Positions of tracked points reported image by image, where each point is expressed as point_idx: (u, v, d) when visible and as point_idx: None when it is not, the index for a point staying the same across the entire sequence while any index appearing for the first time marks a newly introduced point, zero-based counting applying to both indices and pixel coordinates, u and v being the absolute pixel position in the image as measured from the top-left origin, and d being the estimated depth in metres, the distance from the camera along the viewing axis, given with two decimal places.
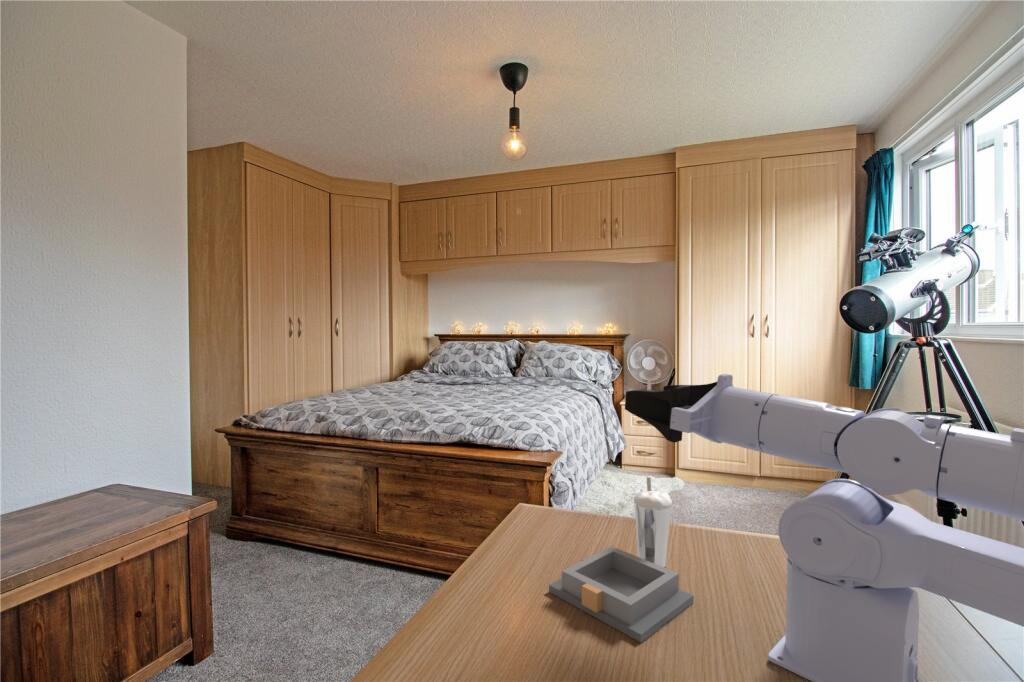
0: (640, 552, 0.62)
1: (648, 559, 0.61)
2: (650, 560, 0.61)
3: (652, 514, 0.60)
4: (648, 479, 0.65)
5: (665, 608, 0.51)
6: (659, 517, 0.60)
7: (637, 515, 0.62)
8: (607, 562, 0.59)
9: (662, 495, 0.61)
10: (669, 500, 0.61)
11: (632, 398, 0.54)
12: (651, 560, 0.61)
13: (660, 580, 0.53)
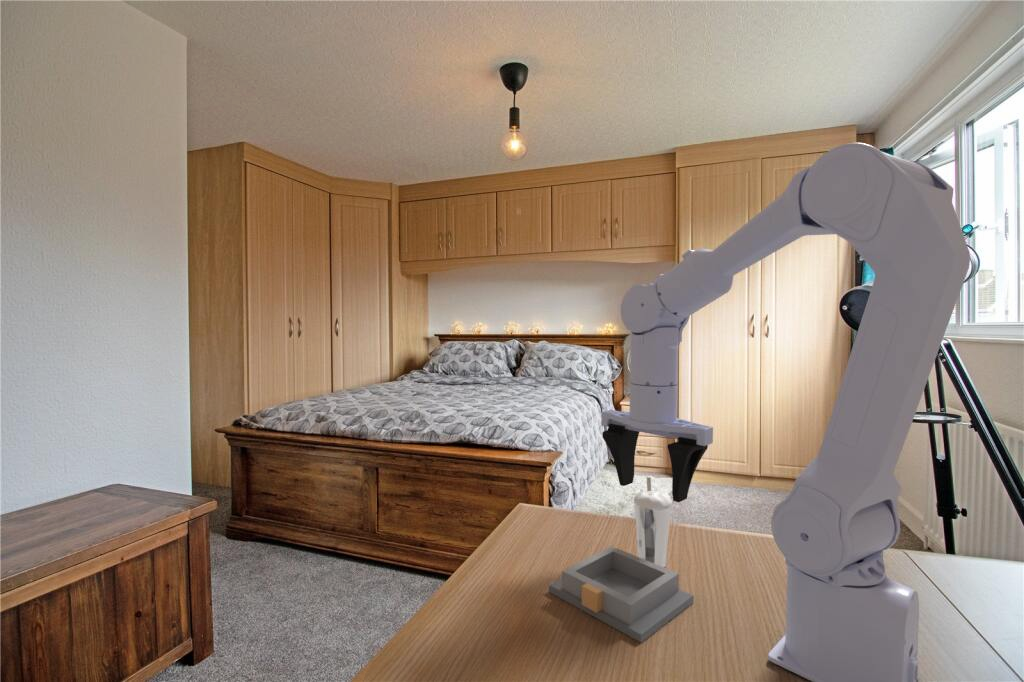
0: (640, 552, 0.62)
1: (648, 559, 0.61)
2: (650, 560, 0.61)
3: (652, 514, 0.60)
4: (648, 479, 0.65)
5: (665, 608, 0.51)
6: (659, 517, 0.60)
7: (637, 515, 0.62)
8: (607, 562, 0.59)
9: (662, 495, 0.61)
10: (669, 500, 0.61)
11: None
12: (651, 560, 0.61)
13: (660, 580, 0.53)
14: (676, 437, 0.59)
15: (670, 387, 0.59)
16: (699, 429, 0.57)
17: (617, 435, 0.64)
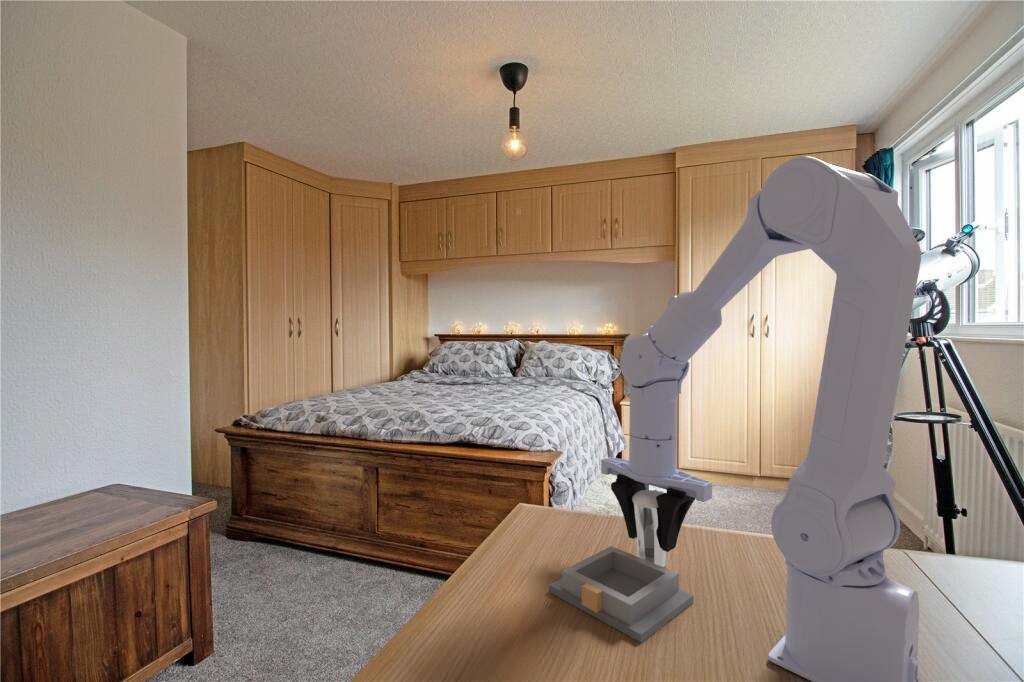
0: (640, 552, 0.62)
1: (648, 558, 0.61)
2: (650, 559, 0.61)
3: (650, 513, 0.60)
4: None
5: (665, 608, 0.51)
6: (657, 515, 0.60)
7: (636, 514, 0.62)
8: (607, 562, 0.59)
9: (660, 494, 0.61)
10: None
11: None
12: (650, 559, 0.61)
13: (660, 580, 0.53)
14: None
15: (669, 441, 0.60)
16: (698, 485, 0.57)
17: (626, 488, 0.63)
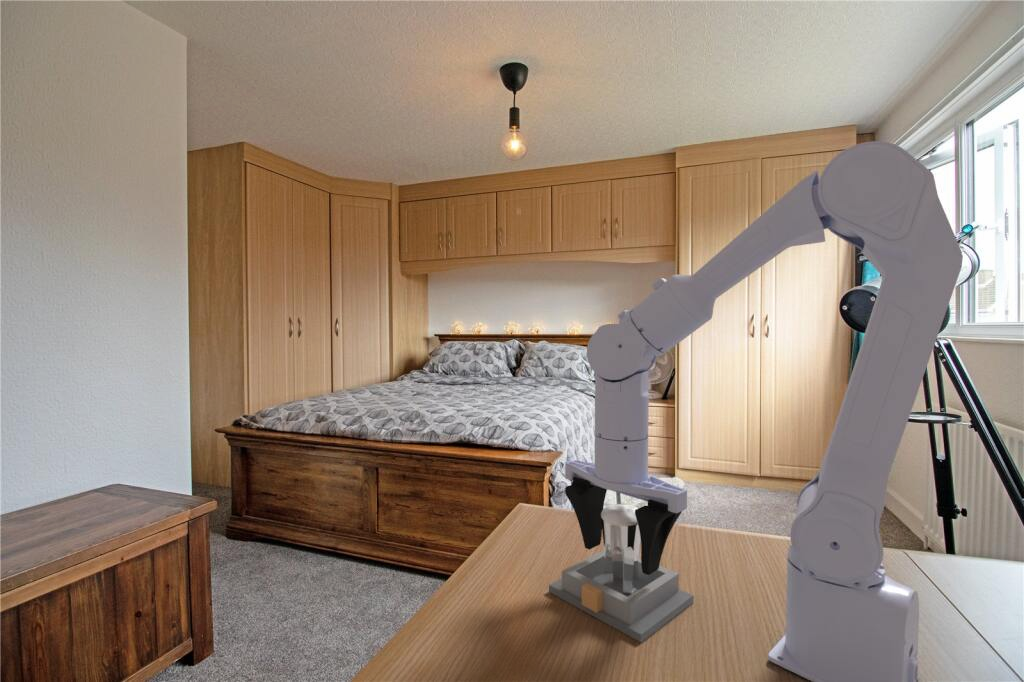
0: (607, 574, 0.55)
1: (616, 582, 0.54)
2: (618, 583, 0.54)
3: (620, 531, 0.53)
4: None
5: (665, 608, 0.51)
6: (628, 535, 0.53)
7: (604, 532, 0.55)
8: None
9: (632, 510, 0.54)
10: None
11: None
12: (619, 583, 0.54)
13: (660, 580, 0.53)
14: (646, 499, 0.52)
15: (639, 442, 0.52)
16: (671, 493, 0.49)
17: (581, 492, 0.56)
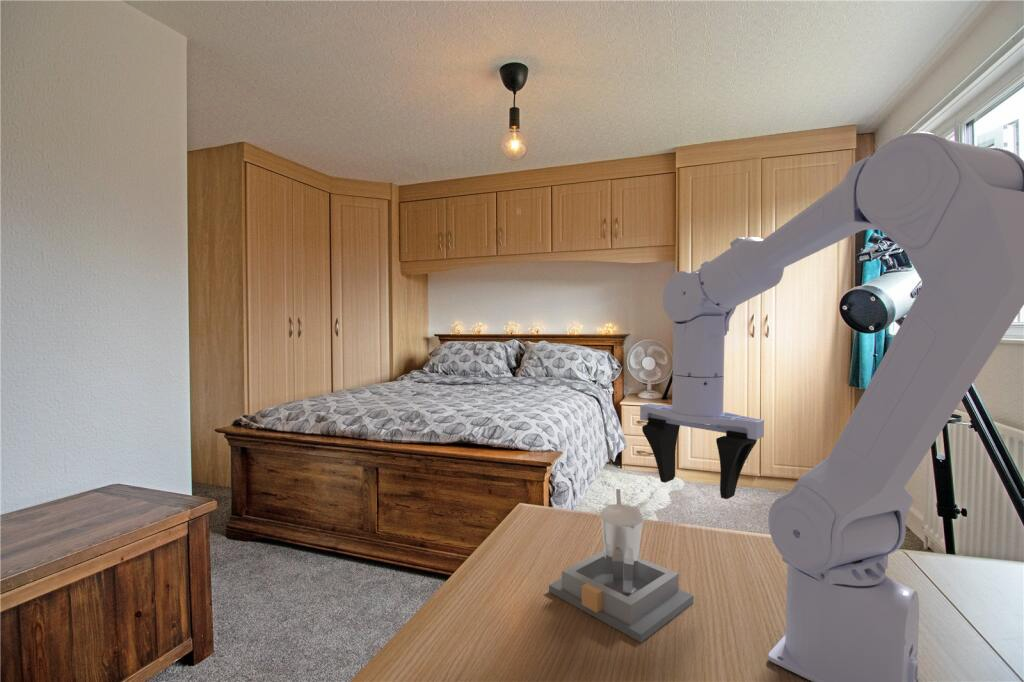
0: (607, 574, 0.55)
1: (616, 582, 0.54)
2: (618, 583, 0.54)
3: (620, 531, 0.53)
4: (618, 491, 0.58)
5: (665, 608, 0.51)
6: (628, 535, 0.53)
7: (604, 532, 0.55)
8: None
9: (632, 510, 0.54)
10: (640, 515, 0.54)
11: None
12: (619, 583, 0.54)
13: (660, 580, 0.53)
14: (723, 431, 0.57)
15: (717, 378, 0.57)
16: (750, 422, 0.54)
17: (659, 429, 0.61)
